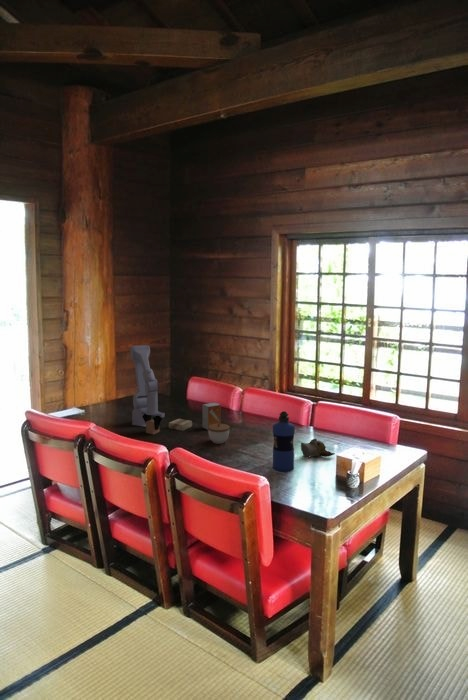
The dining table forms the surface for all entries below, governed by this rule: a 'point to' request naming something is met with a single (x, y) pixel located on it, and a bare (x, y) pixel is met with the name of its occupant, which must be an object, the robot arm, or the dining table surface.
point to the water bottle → (283, 444)
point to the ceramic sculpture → (314, 449)
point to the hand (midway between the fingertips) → (152, 428)
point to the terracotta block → (151, 427)
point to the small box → (211, 414)
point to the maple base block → (180, 424)
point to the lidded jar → (218, 432)
